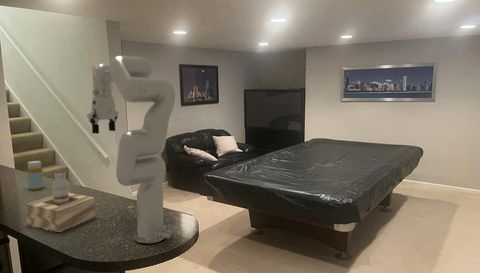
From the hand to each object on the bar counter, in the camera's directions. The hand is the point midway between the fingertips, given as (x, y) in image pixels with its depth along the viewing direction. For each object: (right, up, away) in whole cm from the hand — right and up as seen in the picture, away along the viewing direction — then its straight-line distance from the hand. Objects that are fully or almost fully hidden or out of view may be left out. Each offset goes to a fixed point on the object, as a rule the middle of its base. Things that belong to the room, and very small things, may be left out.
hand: (104, 132), depth 151 cm
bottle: (-51, -31, +35) cm, 69 cm away
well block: (-14, -38, -9) cm, 41 cm away
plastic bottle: (-14, -37, -9) cm, 40 cm away
